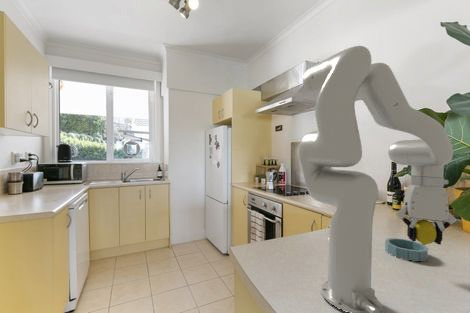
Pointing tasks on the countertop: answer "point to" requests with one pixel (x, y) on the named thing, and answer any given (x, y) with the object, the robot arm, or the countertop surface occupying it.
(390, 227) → the countertop surface
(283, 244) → the countertop surface
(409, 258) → the bowl
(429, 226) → the lemon
